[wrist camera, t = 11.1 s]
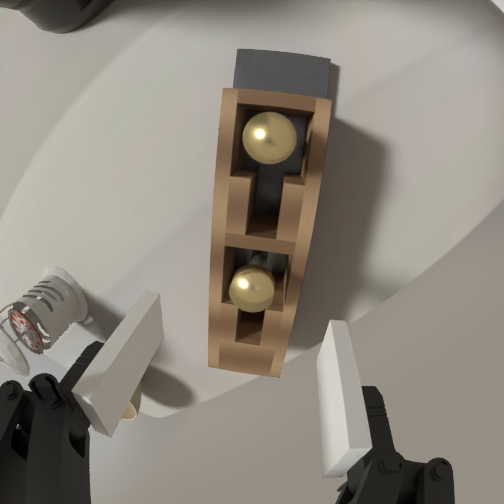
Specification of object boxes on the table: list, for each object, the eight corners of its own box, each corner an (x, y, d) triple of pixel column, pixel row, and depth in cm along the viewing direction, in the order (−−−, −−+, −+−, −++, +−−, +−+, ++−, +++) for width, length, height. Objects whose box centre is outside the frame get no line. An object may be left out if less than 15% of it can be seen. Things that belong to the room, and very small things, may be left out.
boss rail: (239, 51, 20) (214, 11, 12) (329, 61, 20) (352, 24, 11) (218, 303, 31) (195, 364, 22) (289, 313, 30) (289, 378, 22)
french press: (93, 329, 36) (4, 454, 13) (44, 311, 37) (-43, 406, 14) (80, 272, 32) (-47, 400, 9) (29, 259, 33) (-81, 351, 10)
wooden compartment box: (238, 99, 21) (223, 88, 16) (320, 108, 21) (332, 100, 15) (220, 329, 31) (208, 366, 26) (281, 338, 31) (279, 377, 25)
